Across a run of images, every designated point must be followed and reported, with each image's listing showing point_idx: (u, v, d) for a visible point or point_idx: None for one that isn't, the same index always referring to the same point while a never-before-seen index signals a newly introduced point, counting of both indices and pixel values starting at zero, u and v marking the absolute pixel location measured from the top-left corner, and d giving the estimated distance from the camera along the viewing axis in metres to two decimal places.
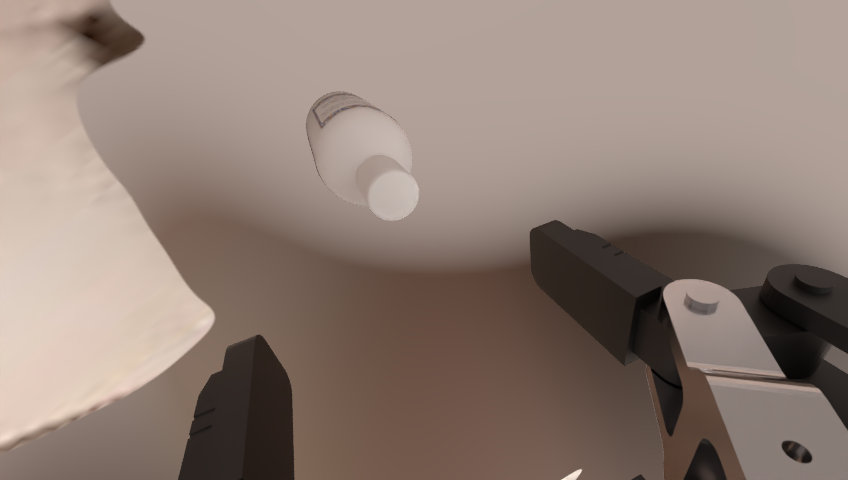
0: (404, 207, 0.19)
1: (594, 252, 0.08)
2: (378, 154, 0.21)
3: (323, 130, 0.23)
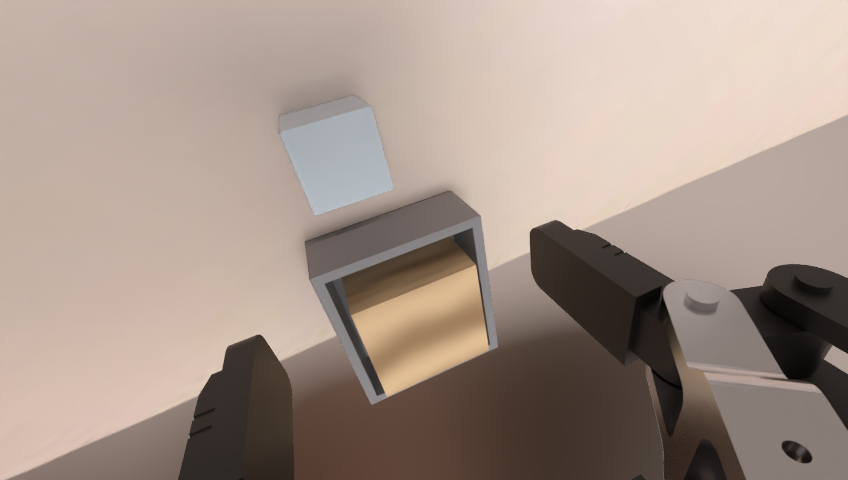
0: None
1: (594, 252, 0.08)
2: None
3: None
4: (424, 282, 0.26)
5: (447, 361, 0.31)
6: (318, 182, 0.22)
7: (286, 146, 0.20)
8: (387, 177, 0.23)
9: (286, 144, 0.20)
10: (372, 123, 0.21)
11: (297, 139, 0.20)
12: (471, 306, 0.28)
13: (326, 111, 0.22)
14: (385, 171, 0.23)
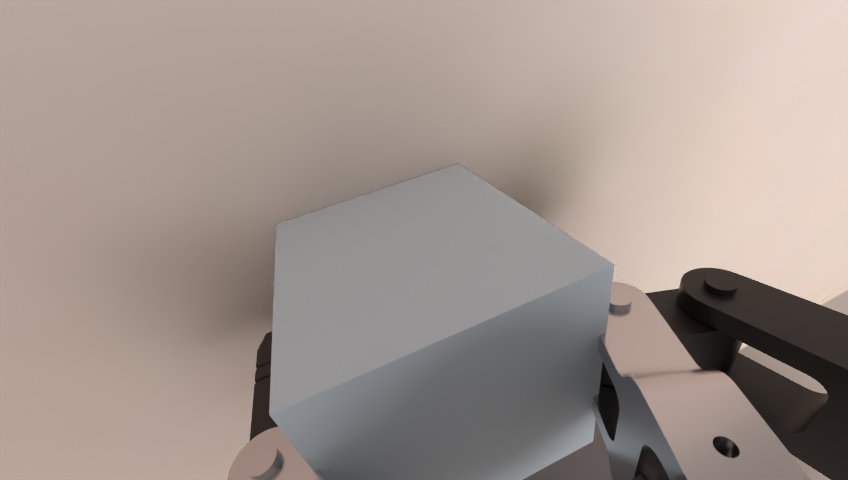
0: None
1: None
2: None
3: None
4: None
5: None
6: None
7: (301, 444, 0.05)
8: (587, 424, 0.08)
9: (301, 439, 0.05)
10: (599, 313, 0.06)
11: (344, 414, 0.05)
12: None
13: (423, 249, 0.07)
14: (588, 414, 0.08)
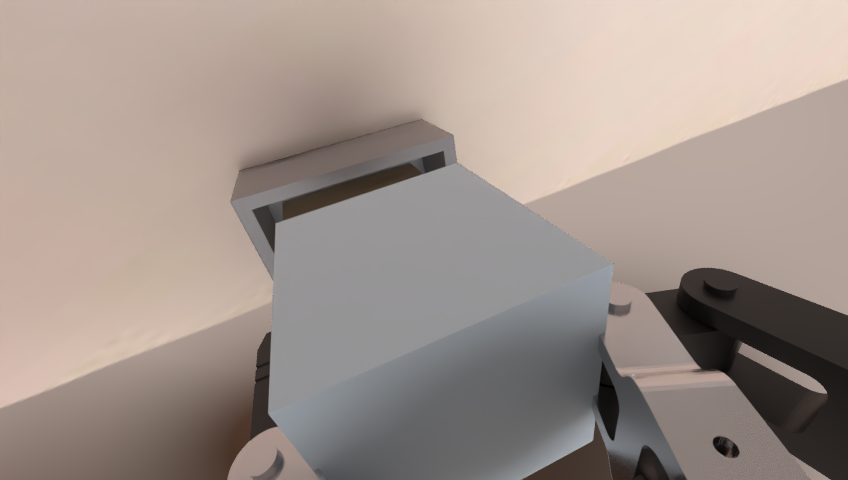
0: None
1: None
2: None
3: None
4: None
5: None
6: None
7: (300, 443, 0.05)
8: (586, 423, 0.08)
9: (300, 438, 0.05)
10: (598, 312, 0.06)
11: (343, 413, 0.05)
12: None
13: (422, 248, 0.07)
14: (587, 413, 0.08)
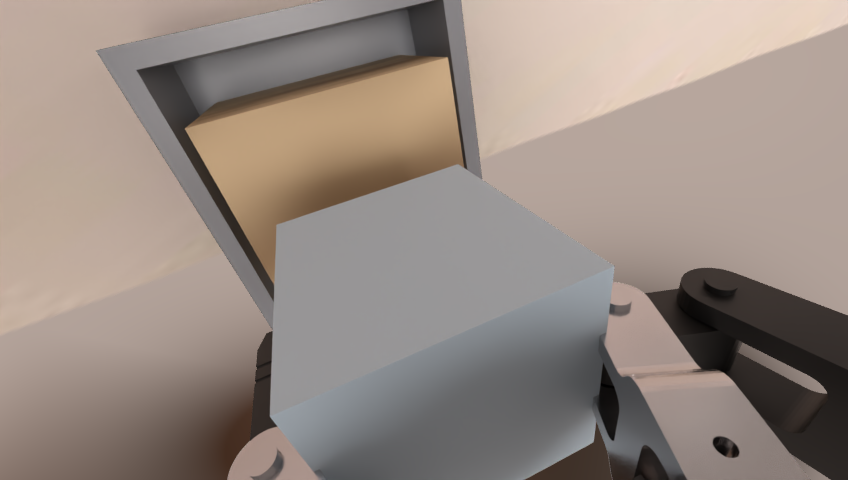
0: None
1: None
2: None
3: None
4: (346, 83, 0.13)
5: None
6: None
7: (301, 445, 0.05)
8: (587, 425, 0.08)
9: (301, 440, 0.05)
10: (599, 314, 0.06)
11: (345, 415, 0.05)
12: (443, 157, 0.16)
13: (423, 250, 0.07)
14: (588, 415, 0.08)
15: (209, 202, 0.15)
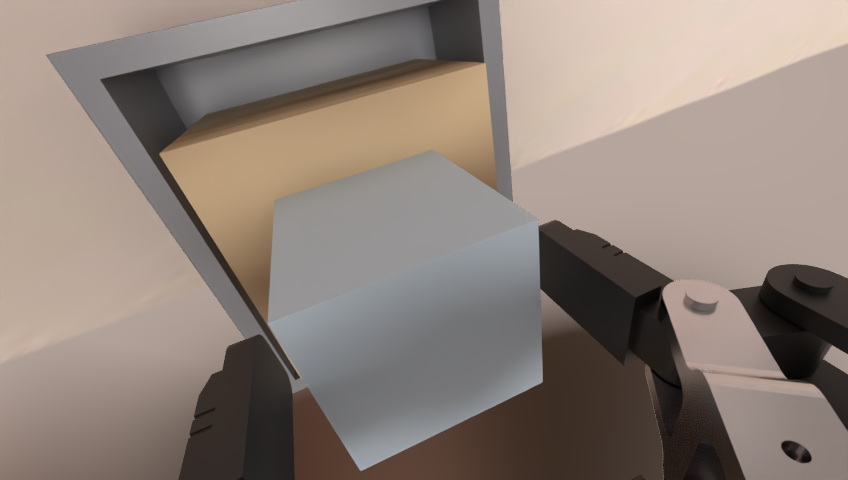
0: None
1: (594, 252, 0.08)
2: None
3: None
4: (362, 95, 0.11)
5: None
6: (377, 409, 0.08)
7: (292, 352, 0.07)
8: (535, 364, 0.09)
9: (292, 348, 0.06)
10: (530, 260, 0.08)
11: (325, 330, 0.07)
12: None
13: (394, 214, 0.09)
14: (534, 354, 0.09)
15: (195, 236, 0.13)
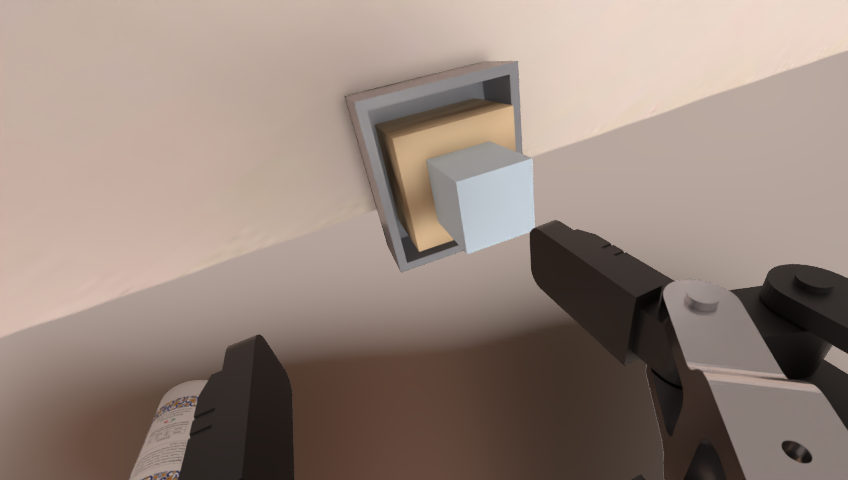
0: None
1: (594, 252, 0.08)
2: None
3: None
4: (463, 118, 0.27)
5: None
6: (477, 224, 0.24)
7: (459, 193, 0.22)
8: (531, 219, 0.25)
9: (459, 192, 0.22)
10: (530, 173, 0.23)
11: (469, 187, 0.22)
12: None
13: (482, 160, 0.24)
14: (531, 214, 0.25)
15: (382, 177, 0.29)
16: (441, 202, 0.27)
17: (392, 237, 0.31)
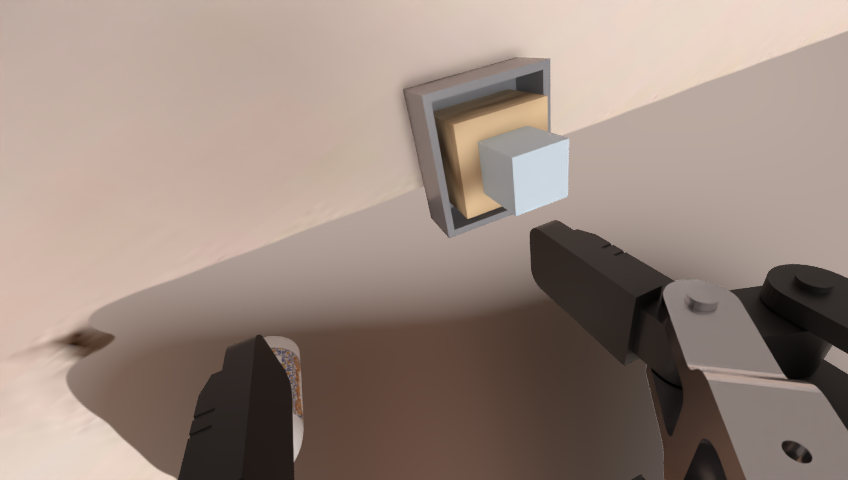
0: None
1: (594, 252, 0.08)
2: None
3: None
4: (507, 106, 0.33)
5: None
6: (525, 192, 0.30)
7: (513, 167, 0.29)
8: (565, 188, 0.32)
9: (514, 165, 0.29)
10: (566, 150, 0.30)
11: (521, 162, 0.29)
12: None
13: (527, 140, 0.31)
14: (565, 183, 0.31)
15: (439, 157, 0.35)
16: (491, 176, 0.33)
17: (444, 207, 0.38)
